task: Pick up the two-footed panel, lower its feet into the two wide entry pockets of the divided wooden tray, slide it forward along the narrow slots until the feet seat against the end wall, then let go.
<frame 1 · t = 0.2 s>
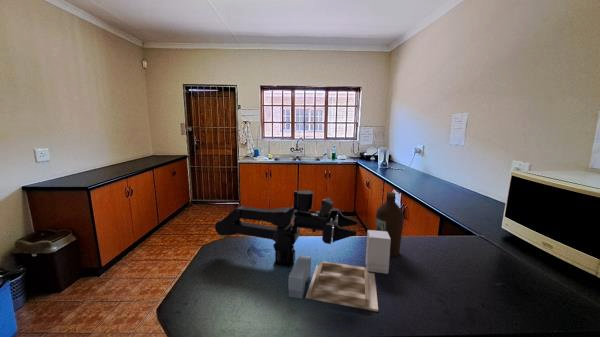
hand: (356, 227, 81), 16 cm above the countertop, tool horizontal, fingers open, 9 cm apart
supplement box: (376, 267, 87), on the countertop
olive oil: (386, 252, 99), on the countertop
panel: (300, 285, 75), on the countertop
divided wooden tray: (342, 285, 76), on the countertop
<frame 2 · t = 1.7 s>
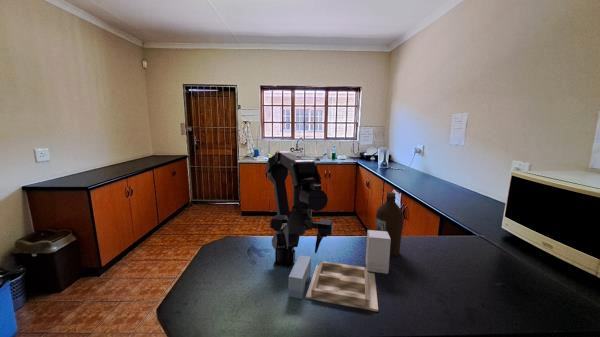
hand: (301, 250, 74), 11 cm above the countertop, tool pointing down, fingers open, 9 cm apart
nothing on the countertop moved.
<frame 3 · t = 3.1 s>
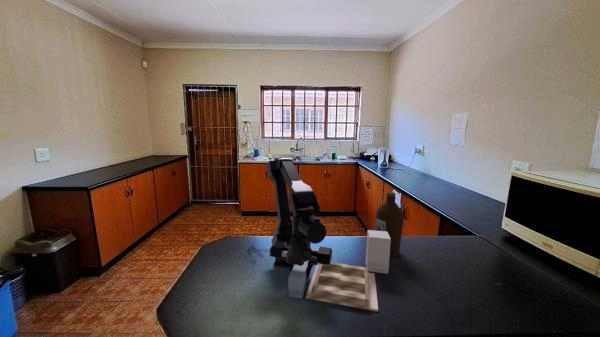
hand: (300, 277, 75), 3 cm above the countertop, tool pointing down, fingers closed on panel, 4 cm apart
panel: (300, 285, 75), on the countertop, touching gripper
everything else where it was.
when the fingers open (3 cm above the countertop, at t = 9.6 s): panel stays where it is, resting on divided wooden tray.
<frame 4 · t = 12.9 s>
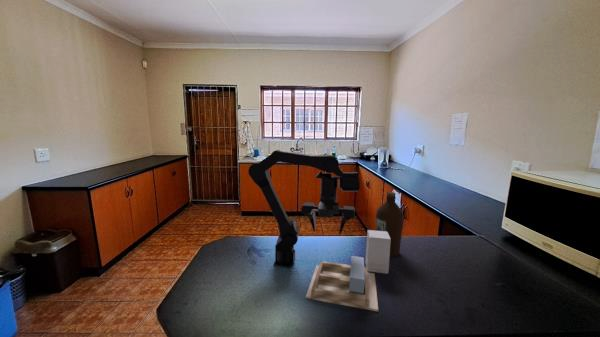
hand: (327, 232, 87), 12 cm above the countertop, tool pointing down, fingers open, 9 cm apart
panel: (356, 286, 75), point 1 cm above the countertop, touching divided wooden tray
everything else where it was.
at the end: panel 0.2 cm from the target spot on the divided wooden tray, point 0.6 cm above the divided wooden tray's base; panel tilted 0°; the gripper is holding nothing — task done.
